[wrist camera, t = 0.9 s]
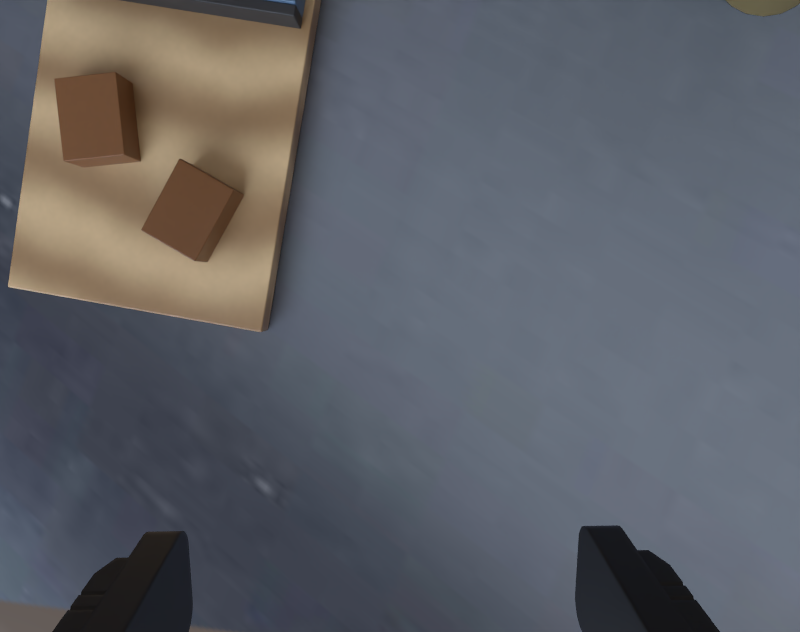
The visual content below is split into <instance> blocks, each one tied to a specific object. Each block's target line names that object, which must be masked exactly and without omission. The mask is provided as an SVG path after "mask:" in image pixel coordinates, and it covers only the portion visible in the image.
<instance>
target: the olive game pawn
mask: <svg viewBox="0 0 800 632" xmlns="http://www.w3.org/2000/svg"><path fill="white" fill-rule="evenodd" d="M726 1H727V2H728V3H729V4H730V5H731V6H732V7H734V8H736V9H738V10H740V11H742V12H744V13H746V14H751V15H758V16H769V15H776V14H781V13H783V12H785V11H787V10H789V9H791V8H793V7H795V6H797V5H798V4H799V3H800V0H726Z"/></svg>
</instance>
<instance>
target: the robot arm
mask: <svg viewBox="0 0 800 632" xmlns="http://www.w3.org/2000/svg"><path fill="white" fill-rule="evenodd" d="M575 602H576V611H577V617H578V621H579V625H580V628H581V630H582V632H720V631H719V630H718V629H717V627H716V626H715V625H714V623H713V622H712V621H711V619H710V618H709V617H708V615H707V614H706V613H705V611H704V610H703V609H702V607H701V606H700V605H699V603H698V602H697V601H696V600H694V599H693V595H692V594H691V593H690V591H689V590H688V589H687V587H686V586H683V582H682V581H681V579H680V578H679V577H678V575H677V574H676V573H675V571H674V570H673V569H672V567H671V566H670V565H669V564H668V563H666V562H665V561H663V560H662V559H660V558H659V557H658V556H656V555H655V554H653V553H652V552H650V551H649V550H637V549H636V548H635V546H634V545H633V544H632V542H631V541H630V539H629V538H628V536H627V535H626V533H625V532H624V531H623V529H622V528H621V527H620V526H582V527H581V529H580V533H579V542H578V558H577V574H576V591H575ZM192 607H193V600H192V586H191V572H190V558H189V545H188V538H187V535H186V533H185V532H184V531H170V532H146V533H145V534H144V535H143V537H142V538H141V540H140V541H139V543H138V544H137V546H136V547H135V549H134V550H133V552H132V553H131V555H130V556H129V558H116V559H114V560H113V561H111V562H110V563H109V564H107V565H106V566H104V567H103V568H102V569H100V570H99V571H97V572H96V573H95V574H94V575H93V576H92V578H91V579H90V581H89V582H88V583H87V585H86V586H85V587H84V589H83V590H82V592H81V595H79V596H78V597H77V598H76V600H75V601H74V603H73V604H72V605H71V609H70V610H68V611H67V612H66V614H65V615H64V616H63V618H62V619H61V620H60V622H59V623H58V625H57V626H56V627H55V629H54V630H53V632H189V628H190V624H191V618H192Z"/></svg>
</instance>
